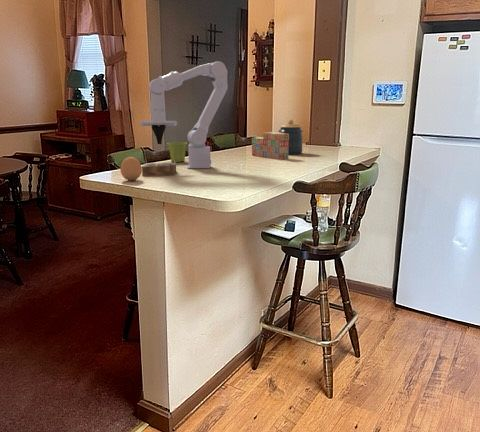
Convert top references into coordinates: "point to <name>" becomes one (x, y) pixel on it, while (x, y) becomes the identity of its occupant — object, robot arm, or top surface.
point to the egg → (131, 168)
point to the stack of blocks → (271, 145)
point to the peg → (164, 164)
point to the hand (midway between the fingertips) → (159, 143)
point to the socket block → (158, 169)
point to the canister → (293, 137)
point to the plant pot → (177, 151)
